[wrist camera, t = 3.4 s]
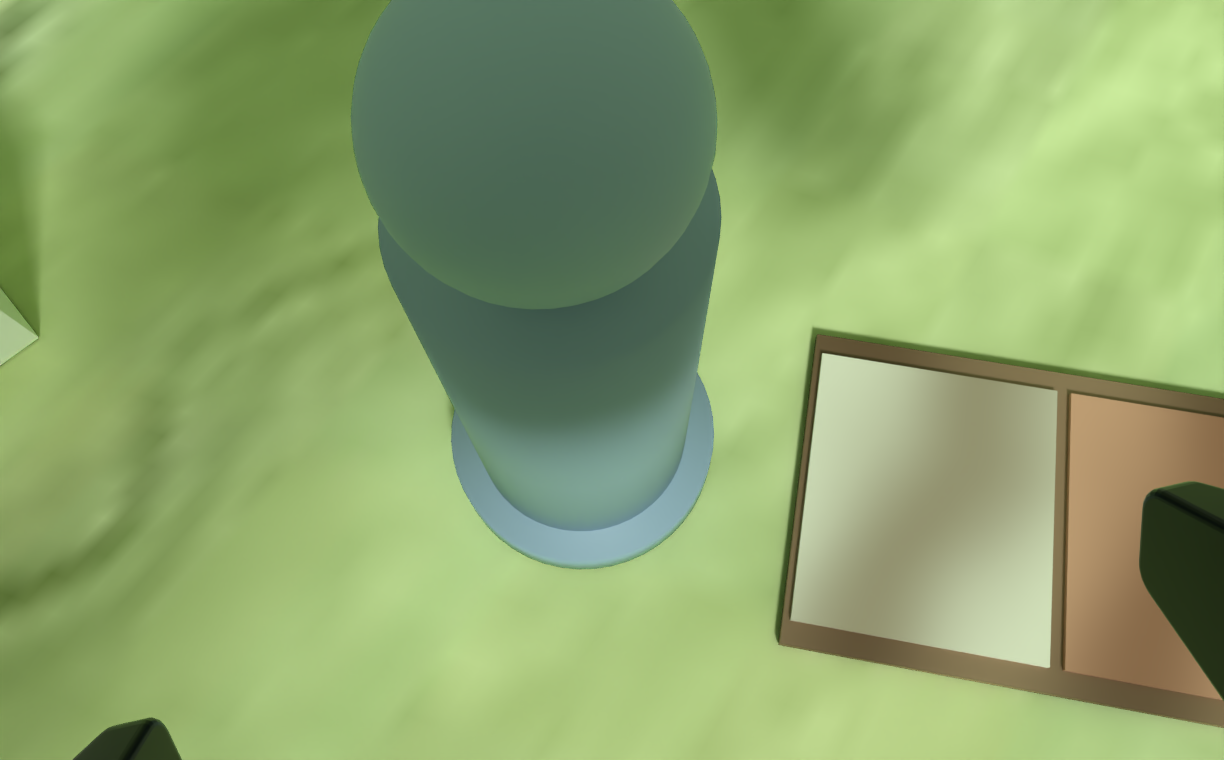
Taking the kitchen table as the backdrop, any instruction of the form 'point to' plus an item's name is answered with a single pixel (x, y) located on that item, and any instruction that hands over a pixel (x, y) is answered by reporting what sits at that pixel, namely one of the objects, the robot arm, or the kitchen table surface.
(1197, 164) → the kitchen table surface
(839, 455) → the board
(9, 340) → the die
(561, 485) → the pawn
